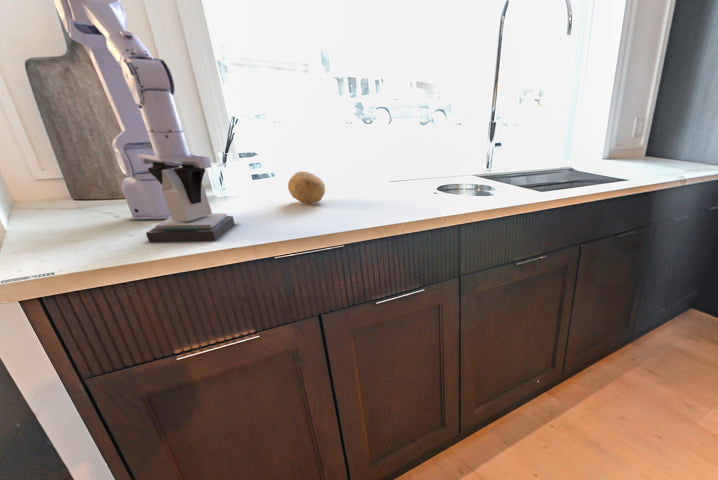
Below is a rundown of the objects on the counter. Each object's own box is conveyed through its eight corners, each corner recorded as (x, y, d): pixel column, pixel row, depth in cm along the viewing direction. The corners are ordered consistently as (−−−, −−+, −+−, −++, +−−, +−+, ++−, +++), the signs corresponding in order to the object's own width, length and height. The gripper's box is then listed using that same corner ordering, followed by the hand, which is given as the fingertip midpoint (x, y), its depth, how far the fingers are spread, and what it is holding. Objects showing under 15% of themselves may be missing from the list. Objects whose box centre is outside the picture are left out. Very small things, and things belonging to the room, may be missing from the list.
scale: (149, 242, 86) (144, 228, 84) (176, 225, 97) (172, 213, 95) (215, 240, 88) (211, 227, 87) (235, 224, 99) (231, 212, 98)
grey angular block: (212, 213, 94) (197, 165, 89) (188, 221, 88) (171, 170, 84) (197, 212, 95) (181, 165, 90) (172, 220, 89) (154, 169, 84)
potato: (293, 209, 113) (287, 178, 110) (289, 199, 124) (283, 170, 120) (331, 207, 118) (327, 176, 114) (324, 197, 128) (320, 169, 125)
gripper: (213, 132, 86) (231, 200, 92) (150, 128, 88) (172, 196, 94) (186, 134, 80) (207, 207, 86) (118, 130, 82) (144, 202, 88)
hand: (187, 202), depth 90 cm, fingers closed on grey angular block, 4 cm apart
